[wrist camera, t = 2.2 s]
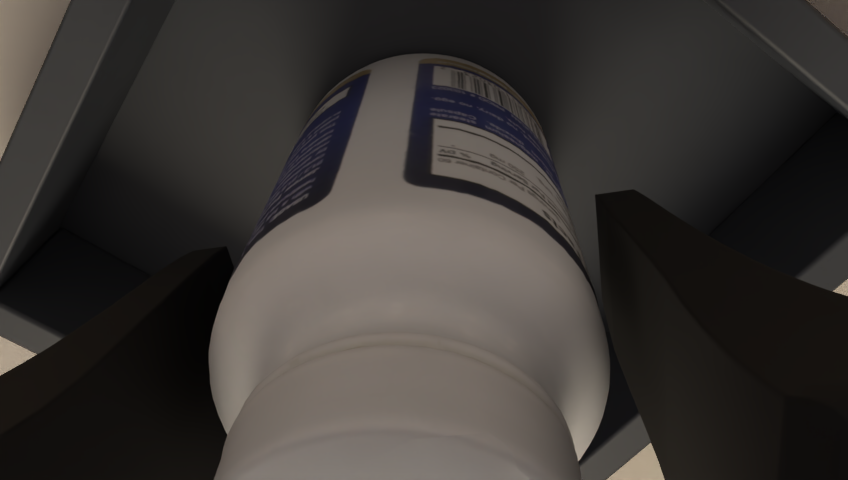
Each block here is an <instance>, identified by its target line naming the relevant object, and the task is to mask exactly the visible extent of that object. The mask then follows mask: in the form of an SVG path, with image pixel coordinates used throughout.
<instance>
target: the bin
mask: <svg viewBox="0 0 848 480" xmlns="http://www.w3.org/2000/svg"><path fill="white" fill-rule="evenodd" d="M421 53H424V54H439V55H447V56H452V57H456V58H460V59H464V60H467V61H470V62H472V63H475V64H477V65H479V66H481V67H483V68H485V69H487V70H489V71H490V72H492V73H494V74H495V75H497V76H498V77H500V78H501V79H503V80H504V81H505V82H506V83H507V84H509V85H510V86H511V87H512V88H513V89H514V90H515V91H516V92H517V93H518V94H519V95H520V96H521V97H522V98H523V99H524V101H525V102H526V103H527V105H528V106H529V107H530V109H531V110H532V112H533V113H534V115H535V116H536V118H537V120H538V122H539V124H540V126H541V128H542V131H543V133H544V136H545V138H546V141H547V143H548V146H549V149H550V152H551V155H552V159H553V162H554V166H555V169H556V172H557V175H558V178H559V182H560V185H561V188H562V191H563V195H564V197H565V200H566V203H567V206H568V210H569V213H570V216H571V220H572V223H573V226H574V229H575V233H576V236H577V240H578V242H579V245H580V248H581V252H582V255H583V258H584V262H585V265H586V268H587V271H588V274H589V276H590V279H591V283H592V285H593V288H594V290H595V293H596V297H597V301H598V306H599V311H600V315H601V318H602V321H603V324H604V328H605V332H606V337H607V342H608V348H609V356H610V387H609V392H608V397H607V402H606V406H605V410H604V414H603V417H602V420H601V422H600V425H599V428H598V430H597V432H596V434H595V436H594V438H593V440H592V441H591V443H590V445H589V447H588V448H587V450H586V451H585V453H584V454H583V456H582V457H581V459H580V460H579V468H580V472H581V478H582V480H606V479H607V478H609V477H610V476H611V475H612V474H613V473H615V472H616V471H617V470H618V469H619V468H621V467H622V466H623V465H624V464H625V463H627V462H628V461H629V460H630V459H631V458H633V457H634V456H635V455H636V454H637V453H639V452H640V451H641V450H642V449H643V448H645V447H646V446H647V445H648V444H649V443H651V441H650V438H649V436H648V433H647V431H646V428H645V426H644V423H643V421H642V418H641V416H640V413H639V411H638V408H637V406H636V403H635V401H634V398H633V396H632V393H631V391H630V388H629V386H628V383H627V381H626V378H625V376H624V373H623V371H622V368H621V366H620V363H619V361H618V358H617V355H616V353H615V350H614V346H613V342H612V339H611V335H610V331H609V327H608V323H607V319H606V314H605V310H604V306H603V302H602V292H601V277H600V262H599V247H598V232H597V217H596V202H595V195H596V194H603V193H610V192H617V191H624V190H632V189H634V190H636V191H638V192H640V193H641V194H643V195H645V196H646V197H648V198H649V199H651V200H652V201H654V202H655V203H657V204H658V205H660V206H661V207H663V208H664V209H666V210H667V211H669V212H670V213H672V214H674V215H675V216H677V217H678V218H680V219H681V220H683V221H685V222H686V223H688V224H689V225H691V226H693V227H694V228H696V229H698V230H699V231H701V232H703V233H704V234H706V235H708V236H710V237H711V238H713V239H715V240H717V241H718V242H720V243H722V244H724V245H726V246H728V247H730V248H732V249H733V250H735V251H737V252H739V253H741V254H743V255H745V256H747V257H749V258H751V259H753V260H755V261H757V262H759V263H762V264H764V265H766V266H768V267H770V268H773V269H775V270H777V271H780V272H782V273H785V274H787V275H790V276H792V277H795V278H797V279H800V280H802V281H805V282H807V283H810V284H812V285H815V286H818V287H821V288H824V289H827V290H830V291H833V290H835V289H836V288H837V287H838V286H839V285H841V284H842V283H843V282H844V281H845V280H847V279H848V37H847V36H846V35H845V34H844V33H843V32H842V31H840V30H839V29H838V28H837V27H836V26H835V25H834V24H832V23H831V22H830V21H829V20H828V19H827V18H826V17H824V16H823V15H822V14H821V13H820V12H819V11H818V10H817V9H815V8H814V7H813V6H812V5H811V4H810V3H809V2H807V1H806V0H71V1H70V4H69V6H68V8H67V10H66V13H65V15H64V17H63V20H62V22H61V24H60V26H59V29H58V31H57V33H56V35H55V38H54V40H53V42H52V45H51V47H50V49H49V51H48V54H47V56H46V58H45V60H44V63H43V65H42V67H41V70H40V72H39V74H38V76H37V79H36V81H35V83H34V86H33V88H32V90H31V92H30V95H29V97H28V99H27V101H26V104H25V106H24V108H23V111H22V113H21V115H20V117H19V120H18V122H17V124H16V126H15V129H14V131H13V133H12V136H11V138H10V140H9V142H8V145H7V147H6V149H5V152H4V154H3V156H2V158H1V161H0V336H1V337H3V338H5V339H7V340H9V341H11V342H13V343H15V344H18V345H20V346H22V347H24V348H26V349H28V350H30V351H32V352H34V353H36V354H39V353H41V352H42V351H44V350H45V349H47V348H49V347H50V346H52V345H53V344H55V343H56V342H58V341H59V340H61V339H62V338H64V337H65V336H67V335H68V334H70V333H71V332H73V331H74V330H76V329H77V328H79V327H80V326H82V325H83V324H85V323H86V322H88V321H89V320H91V319H92V318H94V317H95V316H97V315H98V314H100V313H101V312H103V311H104V310H106V309H107V308H108V307H110V306H111V305H113V304H114V303H115V302H117V301H118V300H120V299H121V298H122V297H124V296H125V295H127V294H128V293H129V292H131V291H132V290H134V289H135V288H136V287H138V286H139V285H140V284H142V283H143V282H145V281H146V280H147V279H149V278H150V277H152V276H153V275H155V274H156V273H157V272H159V271H160V270H162V269H163V268H165V267H166V266H168V265H169V264H171V263H172V262H174V261H175V260H177V259H178V258H180V257H182V256H184V255H186V254H187V253H189V252H191V251H195V250H202V249H209V248H216V247H223V246H227V249H228V251H229V254H230V257H231V260H232V263H233V265H234V268H235V266H236V264H237V263H238V261H239V259H240V257H241V255H242V253H243V251H244V249H245V247H246V245H247V243H248V241H249V239H250V237H251V235H252V233H253V231H254V228H255V226H256V224H257V222H258V220H259V218H260V216H261V214H262V212H263V210H264V208H265V206H266V203H267V201H268V199H269V197H270V195H271V193H272V191H273V189H274V187H275V185H276V183H277V181H278V179H279V177H280V175H281V173H282V170H283V168H284V166H285V164H286V162H287V160H288V158H289V156H290V154H291V151H292V150H293V148H294V146H295V144H296V142H297V139H298V137H299V135H300V133H301V131H302V129H303V127H304V125H305V124H306V122H307V120H308V118H309V117H310V116H311V114H312V112H313V111H314V109H315V108H316V107H317V105H318V104H319V103H320V101H321V100H322V99H323V98H324V97H325V96H326V95H327V93H328V92H329V91H330V90H332V89H333V88H334V87H335V86H336V85H337V84H338V83H339V82H341V81H342V80H344V79H345V78H346V77H348V76H349V75H351V74H353V73H354V72H356V71H357V70H359V69H361V68H363V67H365V66H368V65H370V64H372V63H374V62H377V61H380V60H383V59H386V58H390V57H394V56H399V55H405V54H421Z"/></svg>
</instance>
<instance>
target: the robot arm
mask: <svg viewBox="0 0 848 480" xmlns="http://www.w3.org/2000/svg"><path fill="white" fill-rule="evenodd" d="M595 202H596V217H597V232H598V247H599V262H600V277H601V292H602V302H603V306H604V310H605V314H606V319H607V323H608V327H609V331H610V335H611V339H612V342H613V346H614V350H615V353H616V355H617V358H618V361H619V363H620V366H621V368H622V371H623V373H624V376H625V378H626V381H627V383H628V386H629V388H630V391H631V393H632V396H633V398H634V401H635V403H636V406H637V408H638V411H639V413H640V416H641V418H642V421H643V423H644V426H645V428H646V431H647V433H648V436H649V438H650V441H651V443H652V446H653V448H654V451H655V453H656V456H657V458H658V461H659V464H660V467H661V470H662V473H663V475H664V478H665V480H848V296H845V295H842V294H838V293H835V292H832V291H830V290H827V289H824V288H821V287H818V286H815V285H812V284H810V283H807V282H805V281H802V280H800V279H797V278H795V277H792V276H790V275H787V274H785V273H782V272H780V271H777V270H775V269H773V268H770V267H768V266H766V265H764V264H762V263H759V262H757V261H755V260H753V259H751V258H749V257H747V256H745V255H743V254H741V253H739V252H737V251H735V250H733V249H732V248H730V247H728V246H726V245H724V244H722V243H720V242H718V241H717V240H715V239H713V238H711V237H710V236H708V235H706V234H704V233H703V232H701V231H699V230H698V229H696V228H694V227H693V226H691V225H689V224H688V223H686V222H685V221H683V220H681V219H680V218H678V217H677V216H675V215H674V214H672V213H670V212H669V211H667V210H666V209H664V208H663V207H661V206H660V205H658V204H657V203H655V202H654V201H652V200H651V199H649V198H648V197H646V196H645V195H643V194H641V193H640V192H638V191H636V190H634V189H632V190H624V191H617V192H610V193H603V194H596V195H595ZM233 270H234V265H233V263H232V260H231V257H230V254H229V251H228V249H227V246H223V247H216V248H209V249H202V250H195V251H191V252H189V253H187V254H186V255H184V256H182V257H180V258H178V259H177V260H175V261H174V262H172V263H171V264H169V265H168V266H166V267H165V268H163V269H162V270H160V271H159V272H157V273H156V274H155V275H153V276H152V277H150V278H149V279H147V280H146V281H145V282H143V283H142V284H140V285H139V286H138V287H136V288H135V289H134V290H132V291H131V292H129V293H128V294H127V295H125V296H124V297H122V298H121V299H120V300H118V301H117V302H115V303H114V304H113V305H111V306H110V307H108V308H107V309H106V310H104V311H103V312H101V313H100V314H98V315H97V316H95V317H94V318H92V319H91V320H89V321H88V322H86V323H85V324H83V325H82V326H80V327H79V328H77V329H76V330H74V331H73V332H71V333H70V334H68V335H67V336H65V337H64V338H62V339H61V340H59V341H58V342H56V343H55V344H53V345H52V346H50V347H49V348H47V349H45V350H44V351H42V352H41V353H39V354H37V355H36V356H34V357H32V358H31V359H29V360H27V361H26V362H24V363H22V364H20V365H19V366H17V367H15V368H13V369H12V370H10V371H8V372H6V373H4V374H3V375H1V376H0V480H214V477H215V475H216V472H217V469H218V466H219V463H220V460H221V456H222V451H223V447H224V444H225V441H226V438H227V433H226V431H225V429H224V427H223V425H222V422H221V420H220V418H219V416H218V413H217V410H216V407H215V403H214V400H213V397H212V392H211V386H210V372H209V346H210V339H211V333H212V329H213V325H214V322H215V319H216V315H217V312H218V309H219V306H220V303H221V301H222V299H223V296H224V294H225V291H226V288H227V286H228V283H229V280H230V277H231V275H232V272H233Z"/></svg>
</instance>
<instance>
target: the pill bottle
mask: <svg viewBox="0 0 848 480" xmlns="http://www.w3.org/2000/svg"><path fill="white" fill-rule="evenodd" d="M209 372H210V386H211V392H212V397H213V400H214V403H215V407H216V410H217V413H218V416H219V418H220V420H221V422H222V425H223V427H224V429H225V431H226V433H227V438H226V441H225V444H224V447H223V451H222V456H221V460H220V463H219V466H218V469H217V472H216V475H215V477H214V480H582V478H581V472H580V468H579V460H580V459H581V457H582V456H583V454H584V453H585V451H586V450H587V448H588V447H589V445H590V443H591V441H592V440H593V438H594V436H595V434H596V432H597V430H598V428H599V425H600V422H601V420H602V417H603V414H604V410H605V406H606V402H607V397H608V392H609V387H610V356H609V348H608V342H607V337H606V332H605V328H604V324H603V321H602V318H601V315H600V311H599V306H598V301H597V297H596V293H595V290H594V288H593V285H592V283H591V279H590V276H589V274H588V271H587V268H586V265H585V262H584V258H583V255H582V252H581V248H580V245H579V242H578V240H577V236H576V233H575V229H574V226H573V223H572V220H571V216H570V213H569V210H568V206H567V203H566V200H565V197H564V195H563V191H562V188H561V185H560V182H559V178H558V175H557V172H556V169H555V166H554V162H553V159H552V155H551V152H550V149H549V146H548V143H547V141H546V138H545V136H544V133H543V131H542V128H541V126H540V124H539V122H538V120H537V118H536V116H535V115H534V113H533V112H532V110H531V109H530V107H529V106H528V105H527V103H526V102H525V101H524V99H523V98H522V97H521V96H520V95H519V94H518V93H517V92H516V91H515V90H514V89H513V88H512V87H511V86H510V85H509V84H507V83H506V82H505V81H504V80H503V79H501V78H500V77H498V76H497V75H495V74H494V73H492V72H490V71H489V70H487V69H485V68H483V67H481V66H479V65H477V64H475V63H472V62H470V61H467V60H464V59H460V58H456V57H452V56H447V55H439V54H424V53H421V54H405V55H399V56H394V57H390V58H386V59H383V60H380V61H377V62H374V63H372V64H370V65H368V66H365V67H363V68H361V69H359V70H357V71H356V72H354V73H353V74H351V75H349V76H348V77H346V78H345V79H344V80H342V81H341V82H339V83H338V84H337V85H336V86H335V87H334V88H333V89H332V90H330V91H329V92H328V93H327V95H326V96H325V97H324V98H323V99H322V100H321V101H320V103H319V104H318V105H317V107H316V108H315V109H314V111H313V112H312V114H311V116H310V117H309V118H308V120H307V122H306V124H305V125H304V127H303V129H302V131H301V133H300V135H299V137H298V139H297V142H296V144H295V146H294V148H293V150H292V151H291V154H290V156H289V158H288V160H287V162H286V164H285V166H284V168H283V170H282V173H281V175H280V177H279V179H278V181H277V183H276V185H275V187H274V189H273V191H272V193H271V195H270V197H269V199H268V201H267V203H266V206H265V208H264V210H263V212H262V214H261V216H260V218H259V220H258V222H257V224H256V226H255V228H254V231H253V233H252V235H251V237H250V239H249V241H248V243H247V245H246V247H245V249H244V251H243V253H242V255H241V257H240V259H239V261H238V263H237V264H236V266H235V268H234V270H233V272H232V275H231V277H230V280H229V283H228V286H227V288H226V291H225V294H224V296H223V299H222V301H221V303H220V306H219V309H218V312H217V315H216V319H215V322H214V325H213V329H212V333H211V339H210V346H209Z"/></svg>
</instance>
